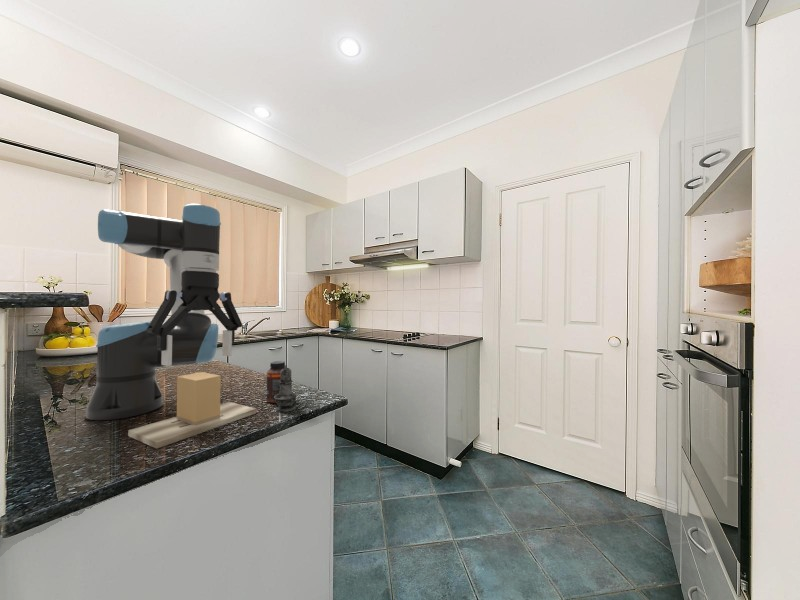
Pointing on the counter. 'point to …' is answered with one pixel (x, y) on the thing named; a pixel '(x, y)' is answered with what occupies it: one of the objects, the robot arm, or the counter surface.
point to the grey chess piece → (285, 392)
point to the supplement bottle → (274, 380)
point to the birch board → (187, 426)
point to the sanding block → (198, 397)
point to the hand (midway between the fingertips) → (199, 360)
